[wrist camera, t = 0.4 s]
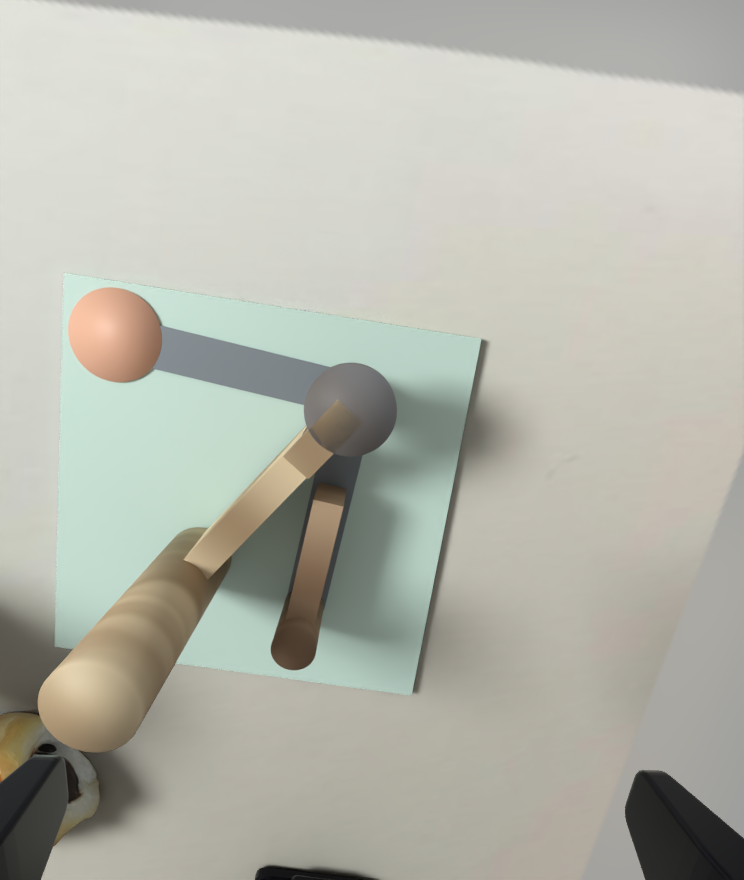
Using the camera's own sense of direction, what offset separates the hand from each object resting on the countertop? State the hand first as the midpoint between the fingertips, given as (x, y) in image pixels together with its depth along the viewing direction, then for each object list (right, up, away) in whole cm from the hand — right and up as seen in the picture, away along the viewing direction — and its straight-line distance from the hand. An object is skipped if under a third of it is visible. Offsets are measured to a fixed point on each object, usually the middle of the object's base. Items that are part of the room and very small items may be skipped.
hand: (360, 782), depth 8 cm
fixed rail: (-2, +3, +15) cm, 15 cm away
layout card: (-5, +3, +16) cm, 17 cm away
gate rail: (-4, +4, +15) cm, 16 cm away
